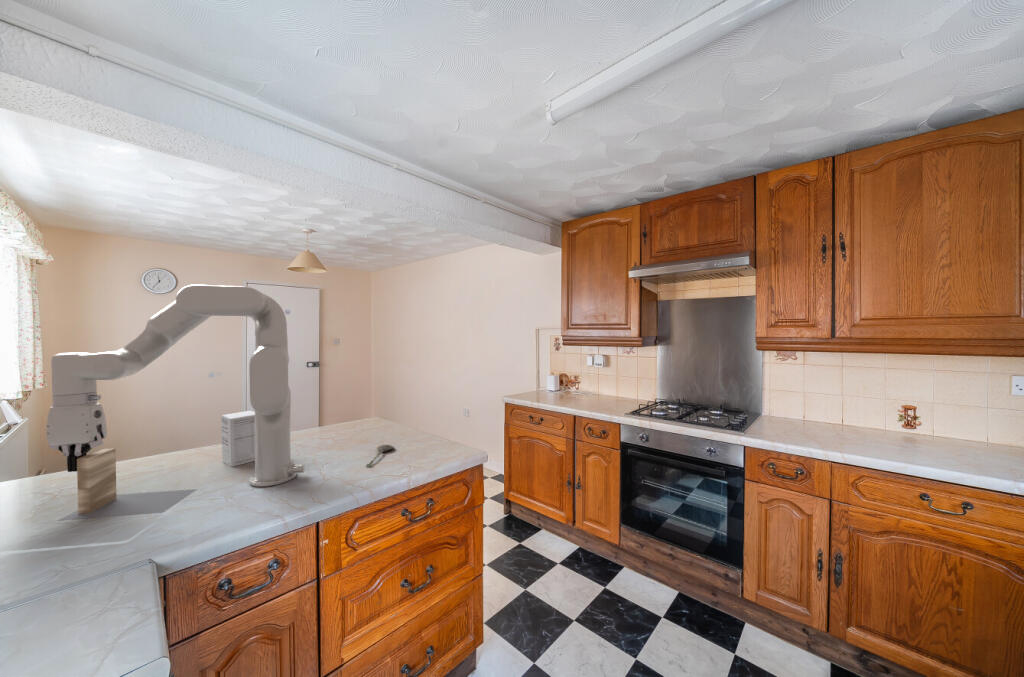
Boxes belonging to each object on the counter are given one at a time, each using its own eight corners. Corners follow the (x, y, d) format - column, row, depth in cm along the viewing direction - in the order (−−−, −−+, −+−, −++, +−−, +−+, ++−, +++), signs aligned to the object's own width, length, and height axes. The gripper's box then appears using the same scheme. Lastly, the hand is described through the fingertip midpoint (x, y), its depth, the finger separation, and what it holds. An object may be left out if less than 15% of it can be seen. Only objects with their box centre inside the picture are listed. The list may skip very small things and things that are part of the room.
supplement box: (251, 454, 141) (251, 410, 140) (262, 459, 136) (261, 413, 135) (221, 461, 133) (220, 414, 133) (230, 467, 128) (229, 418, 127)
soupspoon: (397, 450, 151) (380, 450, 151) (396, 441, 151) (380, 442, 151) (377, 468, 129) (358, 469, 129) (377, 458, 129) (358, 459, 129)
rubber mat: (197, 490, 109) (197, 489, 109) (162, 514, 96) (162, 512, 96) (107, 496, 105) (107, 495, 105) (58, 522, 91) (58, 520, 91)
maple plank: (116, 498, 103) (115, 448, 103) (90, 512, 95) (88, 458, 95) (104, 499, 102) (103, 448, 102) (77, 513, 95) (75, 458, 94)
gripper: (121, 396, 102) (123, 462, 103) (54, 398, 99) (56, 466, 100) (96, 401, 95) (98, 473, 95) (24, 403, 92) (26, 477, 92)
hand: (77, 469), depth 98 cm, fingers closed
